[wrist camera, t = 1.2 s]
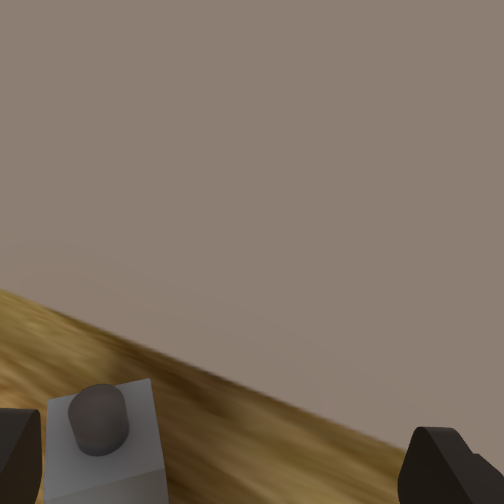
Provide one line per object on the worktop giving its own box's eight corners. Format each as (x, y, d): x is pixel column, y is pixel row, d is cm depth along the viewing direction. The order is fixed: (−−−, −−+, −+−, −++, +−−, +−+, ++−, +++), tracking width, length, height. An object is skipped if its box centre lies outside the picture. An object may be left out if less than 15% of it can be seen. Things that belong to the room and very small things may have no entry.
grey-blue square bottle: (163, 488, 31) (146, 352, 22) (176, 569, 27) (162, 443, 19) (87, 509, 29) (38, 374, 21) (89, 598, 26) (31, 476, 17)
